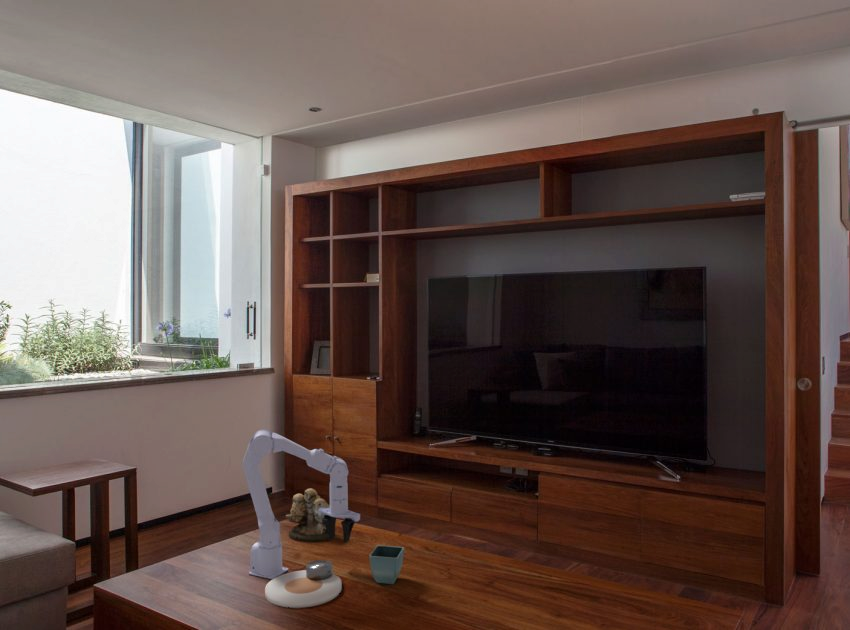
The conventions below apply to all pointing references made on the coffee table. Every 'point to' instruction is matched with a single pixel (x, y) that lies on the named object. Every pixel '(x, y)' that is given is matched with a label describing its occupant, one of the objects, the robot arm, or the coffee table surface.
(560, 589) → the coffee table surface
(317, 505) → the owl figurine
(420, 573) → the coffee table surface
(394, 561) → the flower pot
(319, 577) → the cast cover
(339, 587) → the turntable
